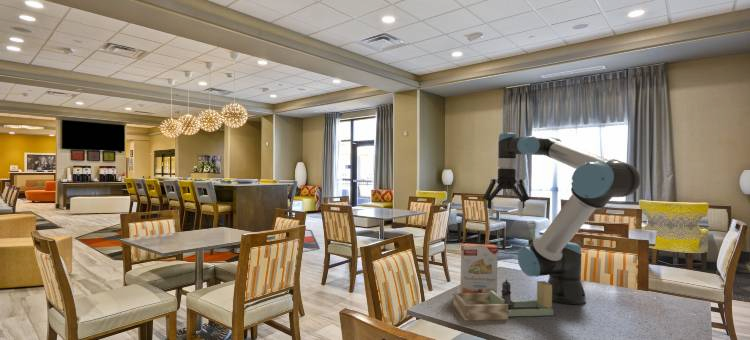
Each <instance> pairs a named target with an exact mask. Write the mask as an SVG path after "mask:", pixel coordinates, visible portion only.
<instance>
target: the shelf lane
mask: <svg viewBox="0 0 750 340" xmlns="http://www.w3.org/2000/svg"><path fill="white" fill-rule="evenodd" d="M453 308H454V310H456V312H458V315H460V316H461V317H462V319H463V320H464V321H491V320H509V316H508V304H490V293H453Z"/></svg>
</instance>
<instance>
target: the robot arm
mask: <svg viewBox="0 0 750 340" xmlns="http://www.w3.org/2000/svg"><path fill="white" fill-rule="evenodd" d="M497 143H498V144H497V145H498V147H497V148H498V155H497V157H498V158H497V167H498V168H497V179H495V178H491V179H490V182H489V183H490V184H488V187H487V189H486V191H485V193H484V195H483V196H482V200H485V201H486V208H487V209H488V216H489V217H493V216H494V201H493V200H494V198H495V197H496V196H497V195H498V194H499V192H501V191H502V190H511V191H512V192H513V193H514V194H515V195H516V197H517V198H518V201H517V203H518V205H517V206H518V207H517V216H518V217H523V212H524V211H523V210H524V209H525V204H526V202H527V201H529V200H530V198H529V195H528V193H527V191H526V189H525V186H524V184H523V183H524V182H523V179H522V178H521V179H520V178H518V179H516V176H517V175H516V174H517V172H516V171H517V170H516V168H517V155H523V156H524V155H525V156H526V155H528V156H530V155H534V156H545V157H548V158H550V159H552V160H555V161H557V162H560V163H562V164H565V165H567V166H569V167H571V168H573V169H575V170H574V171H573V173H572V177H571V189H570V190H571V196H570V197H569V199H567V201H566V202H565V204H564V205H563V206H562V208H561V209H560V210H559V212H558V213H557V214H556V216H555V217H554V219H553V220H552V222H551V223H550V224H549V225H548V227H547V228H546V230H545V231H544V233H542V235H541V236H536V237H535V238H534V239H533V240H532V242H531V243H530V244H529V245H528V246H527V245H524V246H522V247H519V249H518V251H517V263H518V266H519V267H520V270H521V271H522V272H523V273H524V274H525V275H527V276H528V277H535V278H537V277H543V276H548V280H547V281H546V282H547V283H549V284H551V285H552V302H555V303H560V304H565V305H581V304H584V303H586V298H587V297H586V293H585V290H584V287H583V284H582V279H581V278H582V247H581V246H580V245H579V244H578V243H575V242H570V241H571V240H572V239H573V238H574V237H575V235H576V234H577V233H578V232H579V230H580V229H581V228H582V226H583V225H584V224H585V223H586V222H587V220H588V219H589V218H590V217H591V216H592V214H593V213H594V212H595V211H596V210H601V209H603V208H604V207H605V206H607V204H608V203H609V201H610V200H611V199H612V198H625V197H629V196H631V195H632V194H634V193H635V192H636V191H637V190H638V189H639V187H640V185H641V179H642V177H641V174H640V172H639V171H638V169H637V168H636V167H635V166H633V165H632V164H630V163H627V162H624V161H620V160H618V159H615V158H612V159H607V158H604V157H601V156H599V155H597V154H593V153H591V152H588V151H585V150H583V149H580V148H577V147H575V146H572V145H570V144H567V143H563V141H562V140H561V139H559V138H557V137H541V136H540V137H539V136H533V135H524V136H517V133H516V132H502V133H500V134H499V135H498V142H497ZM496 184H497V186H496ZM516 185H517V187H518V188H517V187H516ZM495 186H496V187H495ZM494 188H495V189H494ZM519 200H520V201H519Z"/></svg>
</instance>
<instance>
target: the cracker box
mask: <svg viewBox="0 0 750 340" xmlns="http://www.w3.org/2000/svg"><path fill="white" fill-rule="evenodd" d="M460 248H461V251H460V282H459V283H460V284H459V285H460V287H459V288H460V289H459V290H460V291H459V292H460V293H490V291H494V292H495V293H497V294H498V291H497V290H498V261H499V260H498V255H499V253H498V252H499V251H498V249H499V247H497V245H495V244H483V243H482V244H478V243H461V247H460Z"/></svg>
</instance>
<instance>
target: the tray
mask: <svg viewBox="0 0 750 340" xmlns="http://www.w3.org/2000/svg"><path fill="white" fill-rule="evenodd" d="M547 282H548V281H546V280H543V281H542V280H540V281H538V280H537V281H536V299H532V300H527V299H526V300H512V301H513V302H514V303H515V304H514V306H513V308H517V309H511V310H508V317H533V316H534V317H538V316H539V317H540V316H554V309H553V308H552V306H553V301H552V285H551V284H549V283H547ZM490 304H505V300H504V299H503V298H502V295H501V296H500V294H498V292H497V293H495V292H494V291H490ZM523 307H524V308H523ZM525 307H526V308H527V309H525ZM529 307H537V308H529ZM518 308H519V309H518ZM520 308H521V309H520ZM522 308H523V309H522Z"/></svg>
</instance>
